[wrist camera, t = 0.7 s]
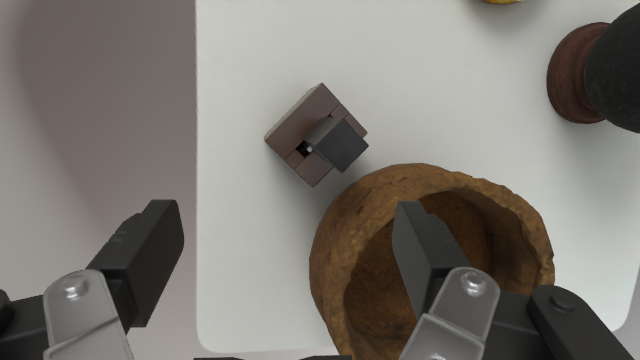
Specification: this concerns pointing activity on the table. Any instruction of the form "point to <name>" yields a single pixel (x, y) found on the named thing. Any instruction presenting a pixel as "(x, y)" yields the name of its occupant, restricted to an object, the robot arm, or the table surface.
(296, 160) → the knife block
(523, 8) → the table surface
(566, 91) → the black ball on stand
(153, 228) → the robot arm
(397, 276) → the bowl
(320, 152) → the knife
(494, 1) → the decorated donut
